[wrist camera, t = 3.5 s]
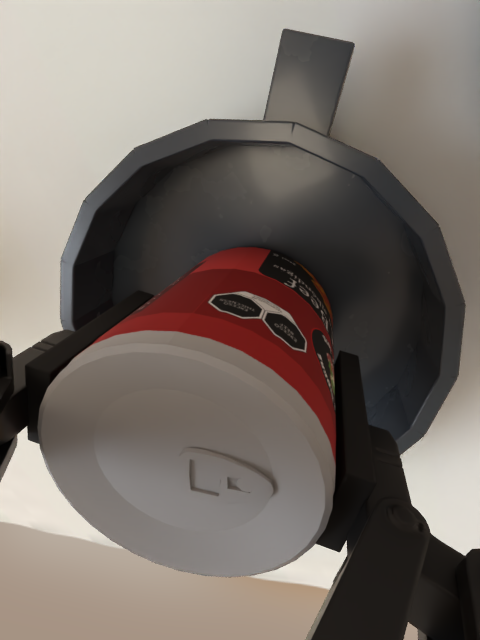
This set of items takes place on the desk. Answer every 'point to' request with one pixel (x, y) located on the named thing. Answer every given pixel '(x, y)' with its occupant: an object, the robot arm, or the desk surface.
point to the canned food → (205, 420)
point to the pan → (285, 232)
